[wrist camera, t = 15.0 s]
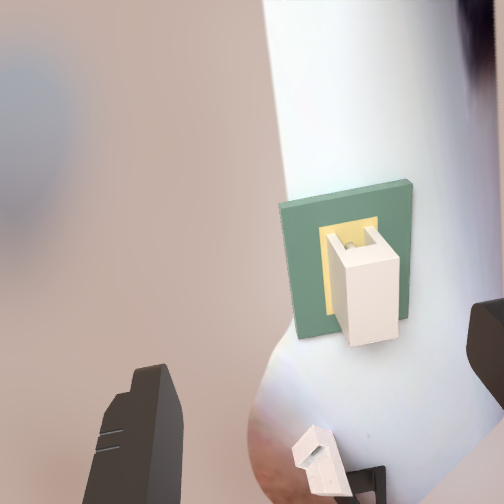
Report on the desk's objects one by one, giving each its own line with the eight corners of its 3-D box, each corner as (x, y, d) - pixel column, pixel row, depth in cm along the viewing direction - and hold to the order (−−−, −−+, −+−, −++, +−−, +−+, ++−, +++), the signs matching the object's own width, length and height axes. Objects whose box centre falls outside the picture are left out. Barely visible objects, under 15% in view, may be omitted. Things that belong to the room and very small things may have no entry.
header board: (278, 203, 45) (285, 220, 41) (406, 178, 45) (425, 194, 41) (296, 331, 54) (303, 356, 50) (402, 310, 54) (418, 333, 50)
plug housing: (326, 234, 45) (345, 267, 39) (373, 225, 45) (399, 257, 39) (331, 307, 50) (349, 347, 44) (374, 299, 50) (398, 337, 44)
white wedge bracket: (354, 427, 60) (352, 496, 55) (312, 434, 68) (307, 495, 63) (334, 420, 59) (331, 490, 54) (293, 428, 67) (287, 490, 62)
